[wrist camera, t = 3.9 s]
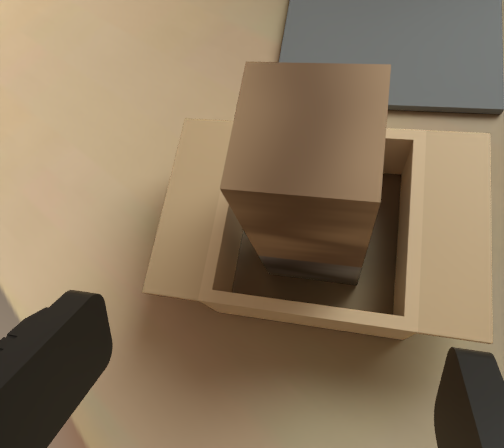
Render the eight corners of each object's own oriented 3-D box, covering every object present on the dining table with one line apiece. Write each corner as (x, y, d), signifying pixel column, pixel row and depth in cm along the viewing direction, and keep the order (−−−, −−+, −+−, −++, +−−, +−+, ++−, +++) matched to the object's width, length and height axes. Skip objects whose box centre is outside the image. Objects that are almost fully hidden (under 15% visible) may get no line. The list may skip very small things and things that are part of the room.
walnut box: (364, 202, 25) (391, 64, 14) (356, 285, 24) (380, 202, 13) (281, 195, 26) (245, 61, 15) (268, 274, 25) (219, 188, 14)
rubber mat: (497, -35, 29) (500, -42, 29) (500, 114, 26) (504, 109, 25) (296, -29, 32) (295, -35, 32) (273, 105, 29) (272, 100, 28)
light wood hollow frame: (466, 169, 25) (490, 133, 21) (465, 349, 22) (492, 343, 18) (203, 152, 28) (184, 118, 25) (169, 304, 25) (141, 292, 21)
